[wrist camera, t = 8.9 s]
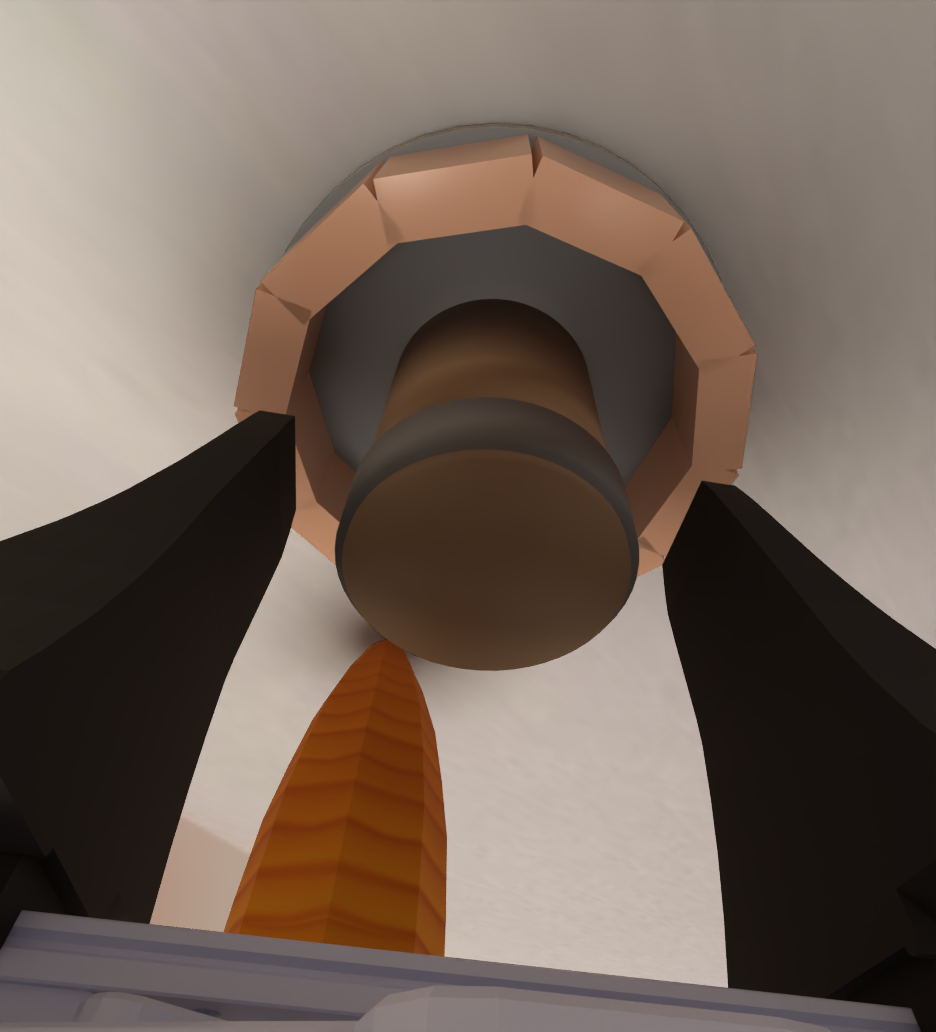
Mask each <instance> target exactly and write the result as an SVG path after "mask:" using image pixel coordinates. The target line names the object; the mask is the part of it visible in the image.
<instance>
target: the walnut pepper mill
mask: <svg viewBox="0 0 936 1032" xmlns="http://www.w3.org/2000/svg"><path fill="white" fill-rule="evenodd" d="M335 563H336V568H337V572H338V576H339V579H340V582H341V584H342V587H343V589H344V591H345V593H346V595H347V596H348V598H349V600H350V601H351V603H352V604H353V606H354V607H355V608H356V609H357V611H358V612H359V613H360V614H361V616H362V617H363V618H364V619H365V620H366V621H367V622H368V623H369V624H370V625H371V626H372V627H373V628H374V629H375V630H376V631H377V632H378V633H379V634H381V635H382V636H383V637H384V638H386V639H387V640H388V641H390V642H391V643H393V644H395V645H396V646H398V647H400V648H401V649H403V650H405V651H407V652H409V653H411V654H413V655H415V656H418V657H420V658H423V659H426V660H429V661H431V662H435V663H438V664H442V665H446V666H450V667H456V668H462V669H470V670H493V671H497V670H510V669H518V668H524V667H530V666H534V665H538V664H542V663H545V662H548V661H551V660H554V659H556V658H559V657H562V656H564V655H566V654H568V653H570V652H572V651H574V650H576V649H577V648H579V647H581V646H582V645H584V644H586V643H587V642H589V641H590V640H591V639H592V638H594V637H595V636H596V635H597V634H599V633H600V632H601V631H602V630H603V629H604V628H605V627H606V626H607V625H608V624H609V623H610V622H611V621H612V620H613V619H614V618H615V617H616V616H617V614H618V613H619V612H620V610H621V609H622V607H623V606H624V605H625V603H626V601H627V599H628V598H629V596H630V594H631V592H632V590H633V587H634V584H635V581H636V578H637V573H638V567H639V544H638V539H637V534H636V530H635V526H634V522H633V518H632V514H631V510H630V506H629V502H628V498H627V494H626V490H625V486H624V483H623V480H622V477H621V475H620V472H619V470H618V468H617V466H616V464H615V463H614V461H613V459H612V458H611V456H610V455H609V453H608V452H607V451H606V446H605V442H604V438H603V433H602V429H601V425H600V420H599V416H598V412H597V407H596V403H595V399H594V394H593V390H592V386H591V381H590V377H589V373H588V369H587V364H586V362H585V359H584V356H583V354H582V352H581V350H580V348H579V346H578V344H577V343H576V341H575V340H574V339H573V337H572V336H571V335H570V333H569V332H568V331H567V330H566V329H565V328H564V327H563V326H562V325H561V324H560V323H559V322H557V321H556V320H555V319H553V318H552V317H551V316H549V315H548V314H546V313H544V312H542V311H540V310H539V309H537V308H534V307H532V306H529V305H526V304H524V303H520V302H515V301H511V300H503V299H480V300H474V301H468V302H465V303H461V304H458V305H455V306H453V307H450V308H448V309H446V310H444V311H442V312H440V313H439V314H437V315H435V316H434V317H432V318H431V319H430V320H428V321H427V322H426V323H425V324H424V325H422V326H421V327H420V328H419V329H418V331H417V332H416V333H415V334H414V335H413V336H412V338H411V339H410V341H409V342H408V344H407V345H406V347H405V349H404V351H403V353H402V355H401V357H400V360H399V363H398V366H397V369H396V373H395V376H394V379H393V383H392V386H391V389H390V392H389V396H388V399H387V402H386V406H385V409H384V412H383V416H382V419H381V422H380V425H379V429H378V432H377V435H376V439H375V442H374V444H373V445H372V446H371V448H370V449H369V450H368V452H367V453H366V455H365V456H364V457H363V459H362V461H361V463H360V465H359V467H358V469H357V471H356V473H355V476H354V479H353V482H352V485H351V489H350V492H349V495H348V498H347V501H346V504H345V507H344V510H343V513H342V516H341V519H340V523H339V526H338V529H337V532H336V540H335Z"/></svg>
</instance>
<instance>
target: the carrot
mask: <svg viewBox="0 0 936 1032" xmlns="http://www.w3.org/2000/svg"><path fill="white" fill-rule="evenodd" d="M446 861H447V834H446V823H445V812H444V802H443V791H442V780H441V773H440V766H439V758H438V751H437V744H436V737H435V731H434V728H433V724H432V721H431V718H430V714H429V711H428V708H427V705H426V701H425V698H424V695H423V692H422V689H421V687H420V685H419V683H418V681H417V679H416V676H415V674H414V672H413V670H412V668H411V665H410V663H409V661H408V659H407V657H406V655H405V653H404V651H403V649H401V648H400V647H398V646H396V645H395V644H393V643H391V642H390V641H388V640H383V641H380V642H376V643H374V644H373V645H372V646H371V647H370V648H369V649H368V650H367V651H366V652H365V653H364V654H363V655H361V656H360V657H359V658H358V659H357V660H356V661H355V662H354V663H353V664H352V665H351V667H350V668H349V669H348V671H347V672H346V673H345V675H344V676H343V677H342V679H341V680H340V681H339V683H338V684H337V686H336V687H335V688H334V690H333V691H332V692H331V694H330V695H329V697H328V698H327V699H326V701H325V702H324V704H323V705H322V707H321V708H320V710H319V711H318V713H317V714H316V716H315V717H314V718H313V720H312V722H311V724H310V726H309V728H308V730H307V731H306V733H305V735H304V737H303V739H302V741H301V743H300V745H299V747H298V749H297V751H296V752H295V754H294V756H293V758H292V760H291V762H290V764H289V766H288V768H287V770H286V772H285V774H284V776H283V778H282V781H281V783H280V785H279V787H278V789H277V791H276V793H275V795H274V797H273V799H272V802H271V804H270V806H269V808H268V810H267V812H266V814H265V816H264V818H263V821H262V824H261V826H260V829H259V832H258V835H257V838H256V840H255V843H254V846H253V849H252V852H251V854H250V857H249V860H248V863H247V866H246V868H245V871H244V874H243V877H242V880H241V882H240V885H239V888H238V891H237V894H236V896H235V899H234V902H233V905H232V908H231V911H230V914H229V918H228V920H227V924H226V926H225V930H224V932H225V933H234V934H243V935H252V936H261V937H270V938H280V939H289V940H298V941H307V942H316V943H325V944H334V945H343V946H352V947H361V948H370V949H379V950H388V951H397V952H406V953H416V954H425V955H434V956H443V957H444V950H445V925H446Z"/></svg>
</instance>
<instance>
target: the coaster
mask: <svg viewBox="0 0 936 1032" xmlns="http://www.w3.org/2000/svg"><path fill="white" fill-rule="evenodd" d="M261 282H262V283H261V284H260V285H259V286H258V287H257V289H256V292H255V298H254V303H253V308H252V313H251V319H250V324H249V329H248V334H247V340H246V345H245V350H244V355H243V361H242V366H241V371H240V376H239V382H238V387H237V392H236V397H235V403H234V406H235V407H238V410H237V411H236V413H235V415H236V418H237V420H238V423H239V422H241V421H243V420H244V419H246V418H247V417H249V416H251V415H252V414H254V413H256V412H257V411H259V410H261V411H267V412H273V413H280V414H286V415H292V416H295V447H296V512H295V515H294V519H293V522H292V525H291V528H292V529H294V530H295V531H296V532H297V533H298V534H300V535H301V536H302V537H303V538H304V539H306V540H307V541H308V542H309V543H310V544H312V545H313V546H314V547H315V548H316V549H318V550H319V551H320V552H321V553H322V554H323V555H325V556H326V557H327V558H328V559H329V560H331V561H332V562H333V563H334V564H335V565H336V563H335V540H336V532H337V529H338V526H339V523H340V519H341V516H342V513H343V510H344V507H345V504H346V501H347V498H348V495H349V492H350V489H351V485H352V482H353V479H354V476H355V473H356V471H357V469H358V467H359V465H360V463H361V461H362V459H363V457H364V456H365V455H366V453H367V452H368V450H369V449H370V448H371V446H372V445H373V444H374V442H375V439H376V435H377V432H378V429H379V425H380V422H381V419H382V416H383V412H384V409H385V406H386V402H387V399H388V396H389V392H390V389H391V386H392V383H393V379H394V376H395V373H396V369H397V366H398V363H399V360H400V357H401V355H402V353H403V351H404V349H405V347H406V345H407V344H408V342H409V341H410V339H411V338H412V336H413V335H414V334H415V333H416V332H417V331H418V329H419V328H420V327H421V326H422V325H424V324H425V323H426V322H427V321H428V320H430V319H431V318H432V317H434V316H435V315H437V314H439V313H440V312H442V311H444V310H446V309H448V308H450V307H453V306H455V305H458V304H461V303H465V302H468V301H474V300H480V299H503V300H511V301H515V302H520V303H524V304H526V305H529V306H532V307H534V308H537V309H539V310H540V311H542V312H544V313H546V314H548V315H549V316H551V317H552V318H553V319H555V320H556V321H557V322H559V323H560V324H561V325H562V326H563V327H564V328H565V329H566V330H567V331H568V332H569V333H570V335H571V336H572V337H573V339H574V340H575V341H576V343H577V344H578V346H579V348H580V350H581V352H582V354H583V356H584V359H585V362H586V364H587V369H588V373H589V377H590V381H591V386H592V390H593V394H594V399H595V403H596V407H597V412H598V416H599V420H600V425H601V429H602V433H603V438H604V442H605V446H606V451H607V452H608V453H609V455H610V456H611V458H612V459H613V461H614V463H615V464H616V466H617V468H618V470H619V472H620V475H621V477H622V480H623V483H624V486H625V490H626V494H627V498H628V502H629V506H630V510H631V514H632V518H633V522H634V526H635V530H636V534H637V539H638V544H639V567H638V573H637V577H638V576H640V575H642V574H644V573H646V572H648V571H650V570H652V569H654V568H656V567H658V566H661V565H662V564H663V562H664V560H665V558H664V556H667V554H668V551H669V549H670V547H671V545H672V543H673V541H674V539H675V536H676V534H677V532H678V530H679V528H680V526H681V524H682V521H683V519H684V517H685V515H686V513H687V511H688V509H689V506H690V504H691V502H692V500H693V498H694V496H695V494H696V492H697V489H698V487H699V485H700V483H701V481H708V482H714V483H721V484H727V485H731V484H732V483H733V482H734V481H735V479H736V478H737V477H738V476H739V475H738V473H737V471H736V469H741V468H742V463H743V456H744V448H745V441H746V433H747V426H748V418H749V411H750V403H751V396H752V388H753V381H754V373H755V366H756V358H757V353H756V352H755V350H754V349H753V348H752V347H754V346H756V345H755V343H754V342H753V340H752V338H751V336H750V334H749V333H748V331H747V329H746V327H745V325H744V323H743V322H742V320H741V318H740V316H739V314H738V313H737V311H736V309H735V307H734V305H733V303H732V302H731V300H730V298H729V296H728V294H727V292H726V291H725V289H724V287H723V285H722V283H721V279H720V276H719V274H718V272H717V270H716V267H715V265H714V263H713V261H712V259H711V256H710V254H709V252H708V250H707V248H706V246H705V245H704V243H703V242H702V240H701V239H700V237H699V235H698V234H697V232H696V231H695V229H694V228H693V226H692V225H691V223H690V222H689V220H688V219H687V218H686V217H685V216H684V215H683V213H682V212H681V211H680V210H679V209H678V208H677V207H676V206H675V204H674V203H673V202H672V201H671V200H670V199H669V198H668V197H667V196H666V195H665V193H664V192H663V191H662V190H661V189H660V188H659V187H658V186H657V185H656V184H655V183H654V182H652V181H651V180H650V179H649V178H647V177H646V176H645V175H644V174H643V173H641V172H640V171H639V170H638V169H636V168H635V167H634V166H633V165H631V164H630V163H628V162H627V161H625V160H623V159H621V158H620V157H618V156H616V155H614V154H613V153H611V152H609V151H608V150H606V149H604V148H602V147H601V146H598V145H596V144H593V143H590V142H588V141H585V140H583V139H580V138H578V137H575V136H572V135H570V134H567V133H563V132H558V131H554V130H549V129H545V128H540V127H536V126H531V125H515V124H500V123H492V124H481V125H469V126H458V127H454V128H450V129H446V130H442V131H438V132H434V133H430V134H426V135H422V136H420V137H418V138H415V139H413V140H410V141H408V142H405V143H403V144H401V145H398V146H396V147H393V148H391V149H389V150H388V151H386V152H384V153H383V154H381V155H379V156H378V157H376V158H374V159H373V160H371V161H369V162H368V163H366V164H364V165H363V166H361V167H360V168H359V169H357V170H356V171H355V172H354V173H353V174H351V175H350V176H349V177H348V178H347V179H345V180H344V181H343V182H342V183H341V184H339V185H338V186H337V187H336V188H335V189H334V190H333V191H332V192H331V193H330V194H329V195H328V196H327V197H326V198H325V199H324V201H323V202H322V203H321V204H320V205H319V206H318V207H317V208H316V209H315V211H314V212H313V213H312V214H311V215H310V216H309V217H308V218H307V220H306V221H305V222H304V223H303V225H302V226H301V228H300V229H299V231H298V232H297V234H296V236H295V237H294V239H293V240H292V242H291V243H290V245H289V246H288V248H287V249H286V251H285V254H284V255H283V256H282V258H281V259H280V260H279V261H278V262H277V263H276V264H275V265H274V266H273V268H272V269H271V270H270V271H269V272H268V273H267V274H266V275H265V277H264V278H263V279H262V280H261Z"/></svg>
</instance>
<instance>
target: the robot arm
mask: <svg viewBox="0 0 936 1032" xmlns="http://www.w3.org/2000/svg"><path fill="white" fill-rule="evenodd" d="M295 512H296V447H295V416H292V415H286V414H280V413H273V412H267V411H261V410H259V411H257V412H256V413H254V414H252V415H251V416H249V417H247V418H246V419H244V420H243V421H241V422H239V423H238V424H236V425H235V426H233V427H232V428H230V429H229V430H227V431H226V432H224V433H223V434H221V435H219V436H218V437H216V438H215V439H213V440H212V441H210V442H208V443H207V444H205V445H204V446H202V447H200V448H199V449H197V450H196V451H194V452H192V453H191V454H189V455H188V456H186V457H184V458H183V459H181V460H179V461H178V462H176V463H174V464H172V465H171V466H169V467H167V468H165V469H163V470H162V471H160V472H158V473H156V474H154V475H152V476H151V477H149V478H147V479H145V480H143V481H142V482H140V483H138V484H136V485H134V486H133V487H131V488H129V489H127V490H125V491H123V492H121V493H119V494H117V495H115V496H113V497H111V498H108V499H106V500H104V501H102V502H100V503H98V504H95V505H93V506H91V507H88V508H86V509H84V510H82V511H79V512H77V513H75V514H72V515H70V516H68V517H65V518H63V519H60V520H58V521H55V522H53V523H50V524H47V525H44V526H42V527H39V528H36V529H33V530H30V531H28V532H25V533H22V534H19V535H16V536H14V537H11V538H8V539H5V540H2V541H0V1032H936V649H935V648H933V647H932V646H930V645H929V644H928V643H926V642H925V641H923V640H922V639H921V638H919V637H918V636H916V635H915V634H913V633H912V632H911V631H909V630H908V629H906V628H905V627H904V626H902V625H901V624H899V623H898V622H896V621H895V620H894V619H892V618H891V617H890V616H888V615H887V614H886V613H884V612H883V611H882V610H880V609H879V608H878V607H876V606H875V605H874V604H873V603H871V602H870V601H869V600H868V599H866V598H865V597H864V596H863V595H862V594H860V593H859V592H858V591H857V590H855V589H854V588H853V587H852V586H850V585H849V584H848V583H847V582H845V581H844V580H843V579H842V578H841V577H839V576H838V575H837V574H836V573H835V572H834V571H832V570H831V569H830V568H829V567H828V566H827V565H825V564H824V563H823V562H822V561H821V560H820V559H819V558H817V557H816V556H815V555H814V554H813V553H812V552H811V551H810V550H808V549H807V548H806V547H805V546H804V545H803V544H802V543H801V542H800V541H798V540H797V539H796V538H795V537H794V536H793V535H792V534H791V533H790V532H788V531H787V530H786V529H785V528H784V527H783V526H782V525H781V524H780V523H779V522H777V521H776V520H775V519H774V518H773V517H772V516H771V515H770V514H769V513H767V512H766V511H765V510H764V509H763V508H762V507H761V506H760V505H758V504H757V503H756V502H755V501H754V500H753V499H751V498H750V497H749V496H748V495H747V494H745V493H744V492H743V491H741V490H740V489H739V488H737V487H736V486H733V485H727V484H721V483H714V482H708V481H701V483H700V485H699V487H698V489H697V492H696V494H695V496H694V498H693V500H692V502H691V504H690V506H689V509H688V511H687V513H686V515H685V517H684V519H683V521H682V524H681V526H680V528H679V530H678V532H677V534H676V536H675V539H674V541H673V543H672V545H671V547H670V549H669V551H668V554H667V556H666V558H665V560H664V562H663V564H662V566H663V577H664V587H665V596H666V603H667V611H668V616H669V620H670V624H671V628H672V631H673V635H674V639H675V643H676V646H677V650H678V654H679V657H680V661H681V665H682V668H683V672H684V675H685V679H686V683H687V686H688V690H689V694H690V697H691V701H692V704H693V708H694V712H695V715H696V719H697V723H698V727H699V732H700V736H701V741H702V745H703V751H704V758H705V764H706V770H707V777H708V783H709V789H710V796H711V803H712V811H713V819H714V827H715V835H716V843H717V850H718V860H719V871H720V881H721V892H722V902H723V913H724V926H725V942H726V958H727V974H728V988H724V987H715V986H706V985H697V984H688V983H678V982H669V981H660V980H651V979H642V978H633V977H624V976H615V975H606V974H597V973H588V972H579V971H570V970H561V969H552V968H542V967H533V966H524V965H515V964H506V963H497V962H488V961H479V960H470V959H461V958H452V957H443V956H434V955H425V954H416V953H406V952H397V951H388V950H379V949H370V948H361V947H352V946H343V945H334V944H325V943H316V942H307V941H298V940H289V939H280V938H270V937H261V936H252V935H243V934H234V933H225V932H216V931H206V930H198V929H189V928H180V927H170V926H162V925H153V924H149V923H150V920H151V916H152V913H153V909H154V906H155V902H156V899H157V895H158V891H159V888H160V884H161V880H162V877H163V873H164V870H165V867H166V863H167V859H168V856H169V852H170V849H171V845H172V842H173V839H174V836H175V832H176V829H177V826H178V823H179V820H180V816H181V813H182V810H183V806H184V803H185V800H186V796H187V793H188V790H189V787H190V784H191V780H192V777H193V774H194V771H195V768H196V765H197V762H198V759H199V756H200V753H201V750H202V746H203V743H204V740H205V737H206V734H207V731H208V728H209V725H210V722H211V719H212V717H213V714H214V711H215V708H216V705H217V702H218V699H219V696H220V693H221V690H222V687H223V685H224V682H225V679H226V677H227V674H228V672H229V670H230V667H231V665H232V662H233V660H234V657H235V655H236V653H237V651H238V649H239V647H240V645H241V643H242V641H243V638H244V636H245V634H246V632H247V630H248V628H249V626H250V624H251V622H252V619H253V617H254V615H255V613H256V611H257V609H258V607H259V605H260V602H261V600H262V598H263V596H264V594H265V592H266V590H267V588H268V585H269V583H270V581H271V579H272V577H273V575H274V572H275V570H276V568H277V566H278V564H279V562H280V559H281V557H282V554H283V551H284V548H285V545H286V542H287V539H288V536H289V532H290V529H291V525H292V522H293V519H294V515H295Z"/></svg>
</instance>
